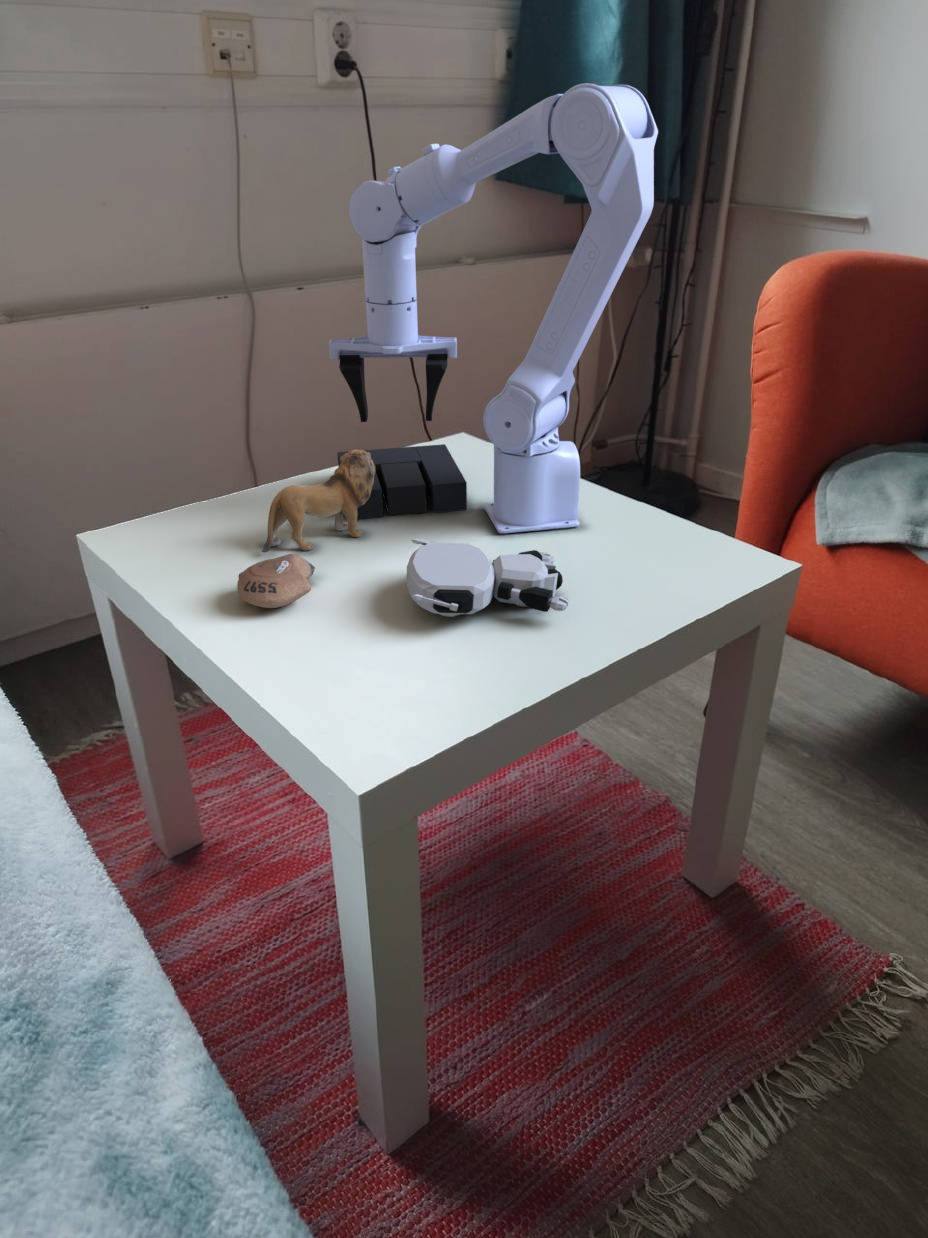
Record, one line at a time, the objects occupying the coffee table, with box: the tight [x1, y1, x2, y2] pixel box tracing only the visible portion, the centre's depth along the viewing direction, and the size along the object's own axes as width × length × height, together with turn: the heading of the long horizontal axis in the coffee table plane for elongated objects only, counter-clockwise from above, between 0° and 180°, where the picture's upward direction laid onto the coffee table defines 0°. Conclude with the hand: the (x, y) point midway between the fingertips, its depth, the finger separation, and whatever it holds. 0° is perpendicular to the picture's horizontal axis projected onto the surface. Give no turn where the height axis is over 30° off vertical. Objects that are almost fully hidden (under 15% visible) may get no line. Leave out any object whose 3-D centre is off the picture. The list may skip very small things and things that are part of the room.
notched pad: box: [337, 443, 468, 520], centre depth 111 cm, size 14×14×4 cm
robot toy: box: [405, 538, 570, 618], centre depth 86 cm, size 12×4×15 cm
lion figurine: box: [261, 448, 376, 554], centre depth 98 cm, size 15×5×9 cm, turn 130°
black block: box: [380, 462, 427, 516], centre depth 109 cm, size 4×8×4 cm, turn 10°
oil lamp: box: [236, 553, 316, 609], centre depth 88 cm, size 9×4×8 cm
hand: (396, 418), depth 107 cm, fingers open, 7 cm apart
